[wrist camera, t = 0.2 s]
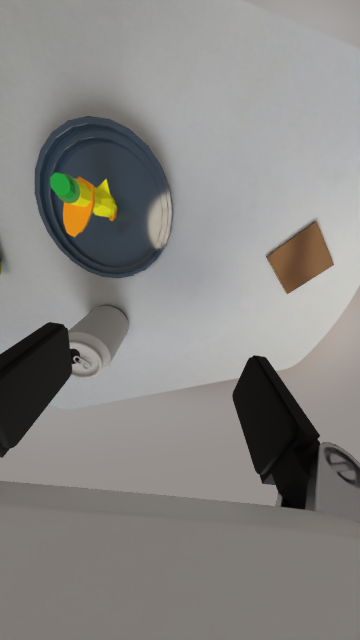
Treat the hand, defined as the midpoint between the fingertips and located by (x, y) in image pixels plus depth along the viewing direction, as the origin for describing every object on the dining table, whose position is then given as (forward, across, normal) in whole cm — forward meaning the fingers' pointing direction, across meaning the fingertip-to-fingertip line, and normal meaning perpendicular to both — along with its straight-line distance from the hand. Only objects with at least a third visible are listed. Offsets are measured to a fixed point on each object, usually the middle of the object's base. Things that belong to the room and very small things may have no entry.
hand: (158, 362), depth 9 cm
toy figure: (+22, +11, -7) cm, 26 cm away
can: (+23, +11, +11) cm, 28 cm away
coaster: (+23, -20, -6) cm, 31 cm away
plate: (+23, +11, -7) cm, 26 cm away
